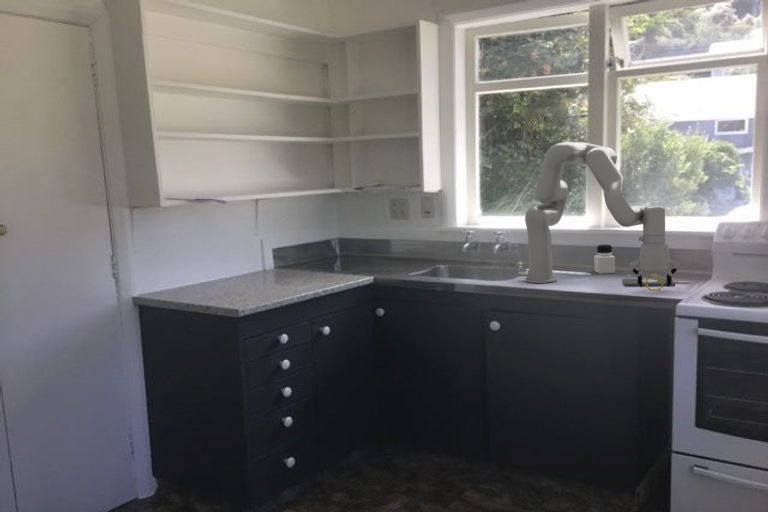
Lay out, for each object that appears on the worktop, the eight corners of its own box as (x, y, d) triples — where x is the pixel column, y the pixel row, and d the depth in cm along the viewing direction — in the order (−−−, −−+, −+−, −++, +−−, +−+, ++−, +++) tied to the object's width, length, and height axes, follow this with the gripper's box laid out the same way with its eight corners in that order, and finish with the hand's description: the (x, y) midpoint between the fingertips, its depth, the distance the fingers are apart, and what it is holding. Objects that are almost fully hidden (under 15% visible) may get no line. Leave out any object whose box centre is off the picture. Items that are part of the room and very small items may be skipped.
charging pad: (624, 286, 261) (624, 283, 261) (622, 281, 273) (622, 278, 273) (693, 285, 255) (693, 283, 254) (688, 280, 266) (688, 277, 266)
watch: (645, 291, 251) (644, 275, 251) (646, 290, 254) (645, 274, 253) (663, 290, 248) (661, 274, 248) (664, 289, 251) (662, 273, 250)
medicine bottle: (615, 272, 294) (615, 245, 292) (599, 273, 294) (598, 246, 292) (610, 270, 301) (610, 243, 299) (594, 271, 301) (593, 244, 300)
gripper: (629, 241, 248) (630, 288, 250) (681, 240, 243) (681, 287, 245) (628, 239, 255) (628, 284, 257) (678, 238, 250) (678, 284, 252)
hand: (654, 286), depth 251 cm, fingers open, 9 cm apart
